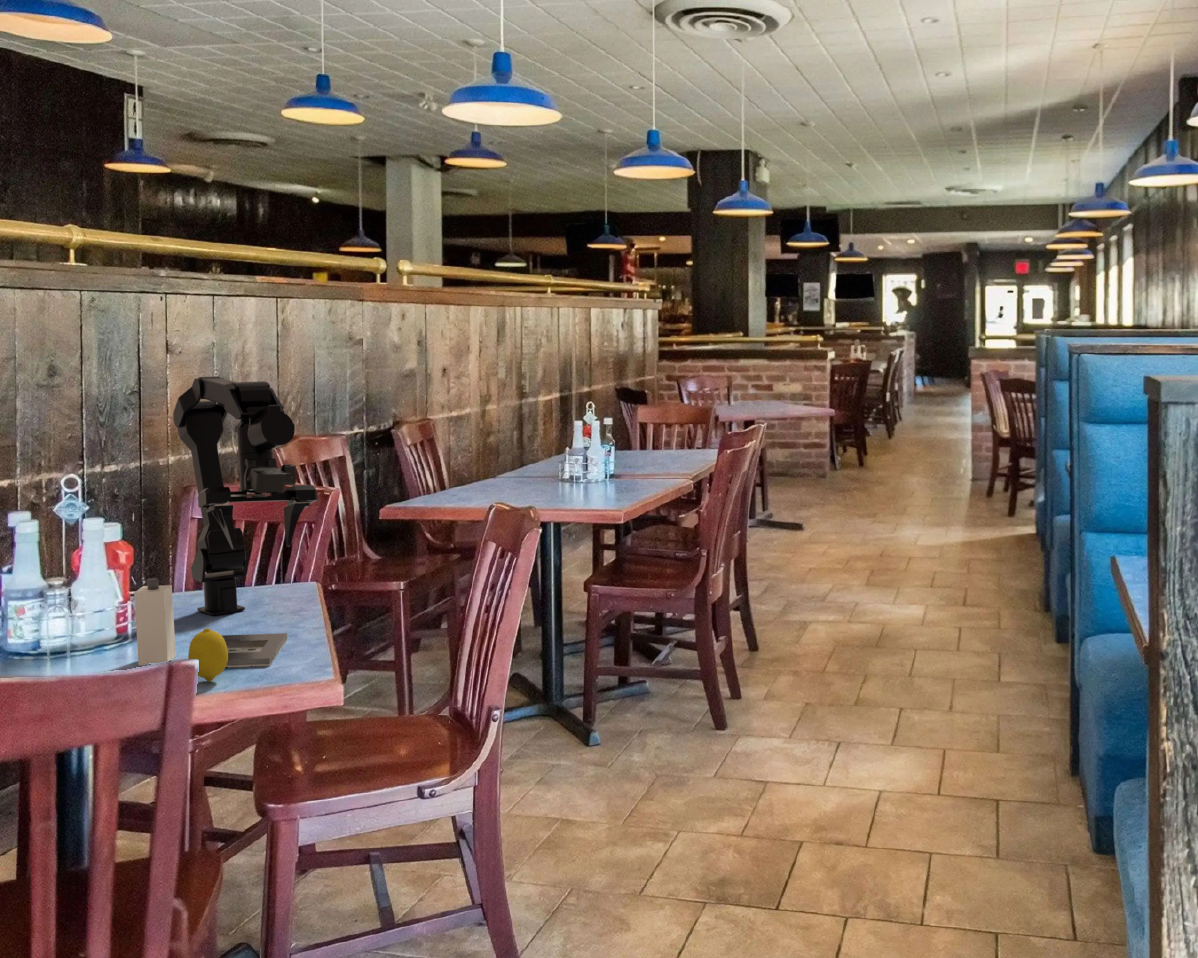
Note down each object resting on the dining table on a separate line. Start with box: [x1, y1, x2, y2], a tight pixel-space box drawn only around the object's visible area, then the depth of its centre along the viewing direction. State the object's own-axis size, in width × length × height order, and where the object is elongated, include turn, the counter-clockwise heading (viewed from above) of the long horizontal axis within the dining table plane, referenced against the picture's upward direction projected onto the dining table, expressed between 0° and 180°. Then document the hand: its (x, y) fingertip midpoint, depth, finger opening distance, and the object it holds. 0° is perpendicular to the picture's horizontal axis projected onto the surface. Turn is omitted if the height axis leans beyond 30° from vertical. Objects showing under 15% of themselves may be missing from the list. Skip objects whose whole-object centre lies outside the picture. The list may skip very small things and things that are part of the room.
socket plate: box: [220, 632, 288, 668], centre depth 197 cm, size 16×12×1 cm
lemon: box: [187, 627, 228, 683], centre depth 181 cm, size 6×6×8 cm
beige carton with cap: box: [133, 577, 177, 666], centre depth 193 cm, size 5×4×13 cm
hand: (261, 547), depth 206 cm, fingers open, 9 cm apart
